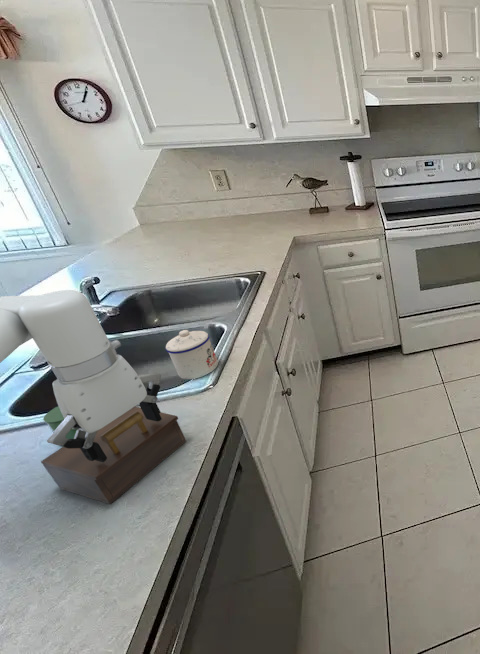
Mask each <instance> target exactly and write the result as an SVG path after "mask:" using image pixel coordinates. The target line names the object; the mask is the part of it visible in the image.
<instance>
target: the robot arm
mask: <svg viewBox="0 0 480 654" xmlns="http://www.w3.org/2000/svg"><path fill="white" fill-rule="evenodd" d="M32 339H33V341H34V343H35V345H36V346H37V348H38V349H39V352H40V353H41V355H42V356H43V357H44V359H45V361H46V362H47V364H48V366H49V368H50V369H51V370H52V372H53V374H54V375H55V377H56V379H55V380H54V381H53V382H52V384H51V385H52V389H53V394H54V397H55V400H56V404H57V407H58V406H59V408H60V410H61V412H62V415H63V417H64V420H63V421H62V423H61V424H60V425H59V426H58V427H57V429H56V430H55V431H54V432H52V433H51V435H49V437H47V439H46V442H47V443H48V444H52V445H54V446H57V447H60V448H62V447H65V448H69V449H71V448H80V449H81V451H82V452H83V454H84V455H85V457H86V458H87V459H88V460H90V461H94V460H96V461H100V462H104V461H106V460H107V457H106V455H105V454H104V452H103V450H102V449H101V447H100V445H99V444H98V443H96V442H93V441H94V439H95V436H96V433H97V431H98V430H100V429H101V428H103V427H105V426H106V425H108V424H109V423H111V422H112V421H114V420H115V419H117V418H118V417H120V416H121V415H123V414H124V413H126V412H127V411H129V410H130V409H132V408H133V407H137V406H138V405H139V406H138V407H139V408H141V409H142V411H143V413H144V415H145V417H146V419H148V420H152V421H157V422H158V421H160V420H161V419H162V418H161V416H160V414H159V413H160V412H161V410H160V407H159V406H158V404H157V402H158V397H157V396H158V394H159V391H160V389H161V385H160V384H161V375H162V374H161V373H158V372H150V373H145V374H138V373H137V372H136V370H135V369H134V368H133V367H132V365H130V363H129V362H128V361H127V360H126V359H125V358H124V357H123V356H122V355H121V354H118V352H117V351H116V350H117V349H118V348H120V347H121V346H122V344H121V341H120V340H118V339H114V340H112V341H110V340H109V338H108V336H107V334H106V332H105V330H104V328H103V327H102V325H101V323H100V321H99V319H98V317H97V315H96V313H95V311H94V309H93V307H92V304H91V303H90V300H89V299H88V298H87V296H86V295H85V294H84V293H82V292H81V291H78V290H75V289H65V290H64V289H63V290H57V291H51V292H46V293H44V294H37V295H36V294H35V295H4V296H0V364H1V363H2V362H3V361H5V359H7V358H8V357H9V356H11V355H12V354H13V353H14V352H15V351H16V350H17V349H18V348H19V347H20V346H22V345H24V344H26V343H27V342H28V341H30V340H32ZM145 383H148V385H147V387H146V386H145V385H144V384H145ZM71 429H74V430H75V429H77V431H76V434H75V437H74V439H67V438H66V435H67V434H68V433H69V432H70V430H71Z"/></svg>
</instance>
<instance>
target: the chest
mask: <svg viewBox="0 0 480 654" xmlns="http://www.w3.org/2000/svg"><path fill="white" fill-rule="evenodd" d="M186 442H187V439H186V437H185V435H184V433H183V430H182V428H181V427H180V424H179V422H178V420H176V421H175V422H174V423H172V424H171V425H170V426H168V427H167V428H166V429H164V430H163V431H162V432H161V433H159V434H158V435H157V436H155V437H154V438H153V439H151V440H150V441H149V442H147V443H146V444H145V445H143V446H142V447H141V448H140V449H138V450H137V451H136V452H134V453H133V454H132V455H130V456H129V457H128V458H126V459H125V460H124V461H122V462H121V463H120V464H119V465H117V466H116V467H115V468H113V469H112V470H111V471H109V472H108V473H107V474H105V475H104V476H103V477H102V478H100V479H99V480H94V479H91V478H87V477H84V476H80V475H77V474H74V473H70V472H67V471H63V470H60V469H56V468H53V467H50V466H46V465H43V464H42V465H43V467H44V468H45V470H46V471H47V472H48V474H49V476H50V477H51V478H52V479H53V481H54V482H55V484H56V485H57V486H58V488H59V489H60V490H61V491H66V492H68V493H72V494H76V495H79V496H82V497H85V498H88V499H92V500H95V501H99V502H102V503H105V504H108V505H111V504H113V503H114V502H115V501H116V500H117V499H118V498H120V497H121V496H122V495H123V494H125V493H126V492H127V491H128V490H130V489H131V488H132V487H133V486H134V485H135V484H137V483H139V481H141V479H143V478H144V477H145V476H147V475H148V473H150V472H151V471H153V470H154V469H155V468H156V467H158V465H160V464H161V463H162V462H164V461H165V460H166V459H167V458H168V457H169V456H171V455H172V454H173V453H174V452H176V451H177V450H178V449H179V448H180V447H182V446H183V445H184V444H185V443H186Z"/></svg>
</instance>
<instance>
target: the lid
mask: <svg viewBox="0 0 480 654" xmlns="http://www.w3.org/2000/svg"><path fill="white" fill-rule="evenodd" d="M159 414H160V416H161V418H162V419H161V420H160V421H158V422H157V421H152V420H148V419H146V417H145V415H144V413H143V411H142V409H141V407H140V406H135V407H133V408H132V409H130V410H129V411H127V412H126V413H124V414H123V415H121V416H120V417H118V418H117V419H115V420H114V421H112V422H111V423H109V424H108V425H106V426H105V427H103V428H101V429H100V430H98V431H97V433H96V436H95V439H94V441H93V442H96V443H98V444H99V445H100V447H101V449H102V450H103V452H104V454H105V455H106V457H107V460H106V461H104V462H100V461H96V460H94V461H90V460H88V459H87V458H86V457H85V455H84V454H83V452H82V451H81V449H80V448H71V449H69V448H65V447H60V448H59V449H57V450H56V451H54V452H52V453H51V454H50V455H48V456H47V457H46V458H44V459H43V460H41V461H40V463H41V464H42V465H46V466H50V467H53V468H56V469H60V470H63V471H67V472H70V473H74V474H77V475H80V476H84V477H87V478H91V479H94V480H99V479H100V478H102V477H103V476H104V475H105V474H107V473H108V472H109V471H111V470H112V469H113V468H115V467H116V466H117V465H119V464H120V463H121V462H122V461H124V460H125V459H126V458H128V457H129V456H130V455H132V454H133V453H134V452H136V451H137V450H138V449H140V448H141V447H142V446H143V445H145V444H146V443H147V442H149V441H150V440H151V439H153V438H154V437H155V436H157V435H158V434H159V433H161V432H162V431H163V430H164V429H166V428H167V427H168V426H170V425H171V424H172V423H174V422H175V421H176V420H177V421H178V420H179V417H178V415H174V414H171V413H166V412H161V411H160V413H159Z"/></svg>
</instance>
